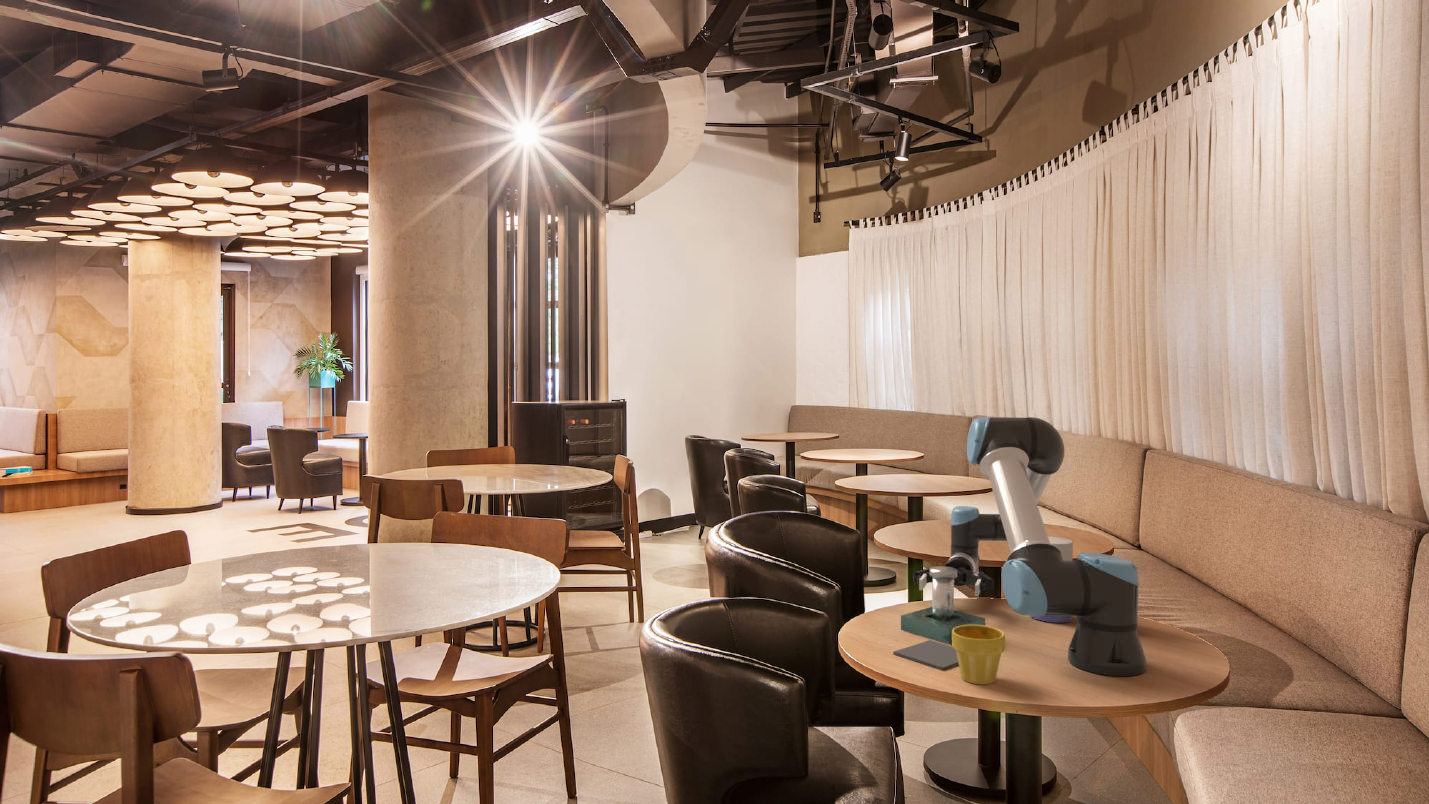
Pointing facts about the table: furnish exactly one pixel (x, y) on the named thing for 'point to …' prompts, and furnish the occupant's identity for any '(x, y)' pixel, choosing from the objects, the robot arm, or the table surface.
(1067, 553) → the container
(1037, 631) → the table surface
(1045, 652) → the table surface
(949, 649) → the mat
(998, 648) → the plant pot
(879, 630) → the table surface
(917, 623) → the housing
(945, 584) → the plug
